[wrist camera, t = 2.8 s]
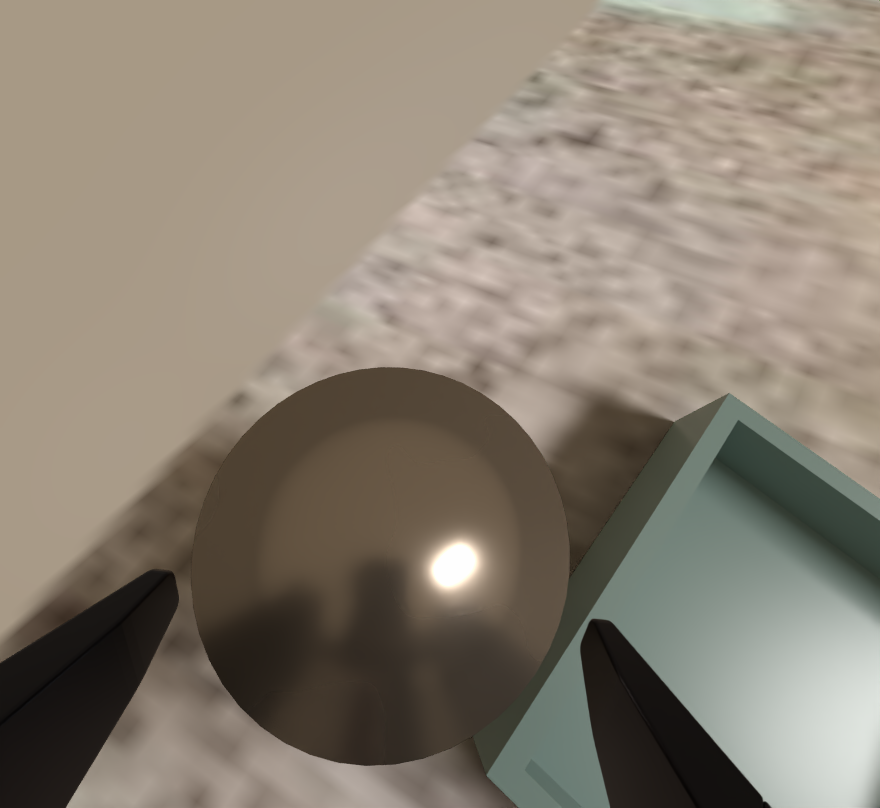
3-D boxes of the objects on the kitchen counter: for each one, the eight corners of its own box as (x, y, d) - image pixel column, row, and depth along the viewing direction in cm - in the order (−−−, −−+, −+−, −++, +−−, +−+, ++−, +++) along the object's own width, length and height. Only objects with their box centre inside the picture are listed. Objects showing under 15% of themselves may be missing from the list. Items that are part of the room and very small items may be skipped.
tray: (871, 1121, 13) (1043, 1331, 10) (469, 727, 16) (486, 775, 12) (1000, 661, 18) (1147, 687, 14) (674, 421, 21) (729, 393, 17)
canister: (408, 647, 17) (399, 884, 5) (317, 559, 18) (106, 559, 5) (486, 545, 18) (638, 515, 6) (399, 469, 19) (377, 309, 7)
